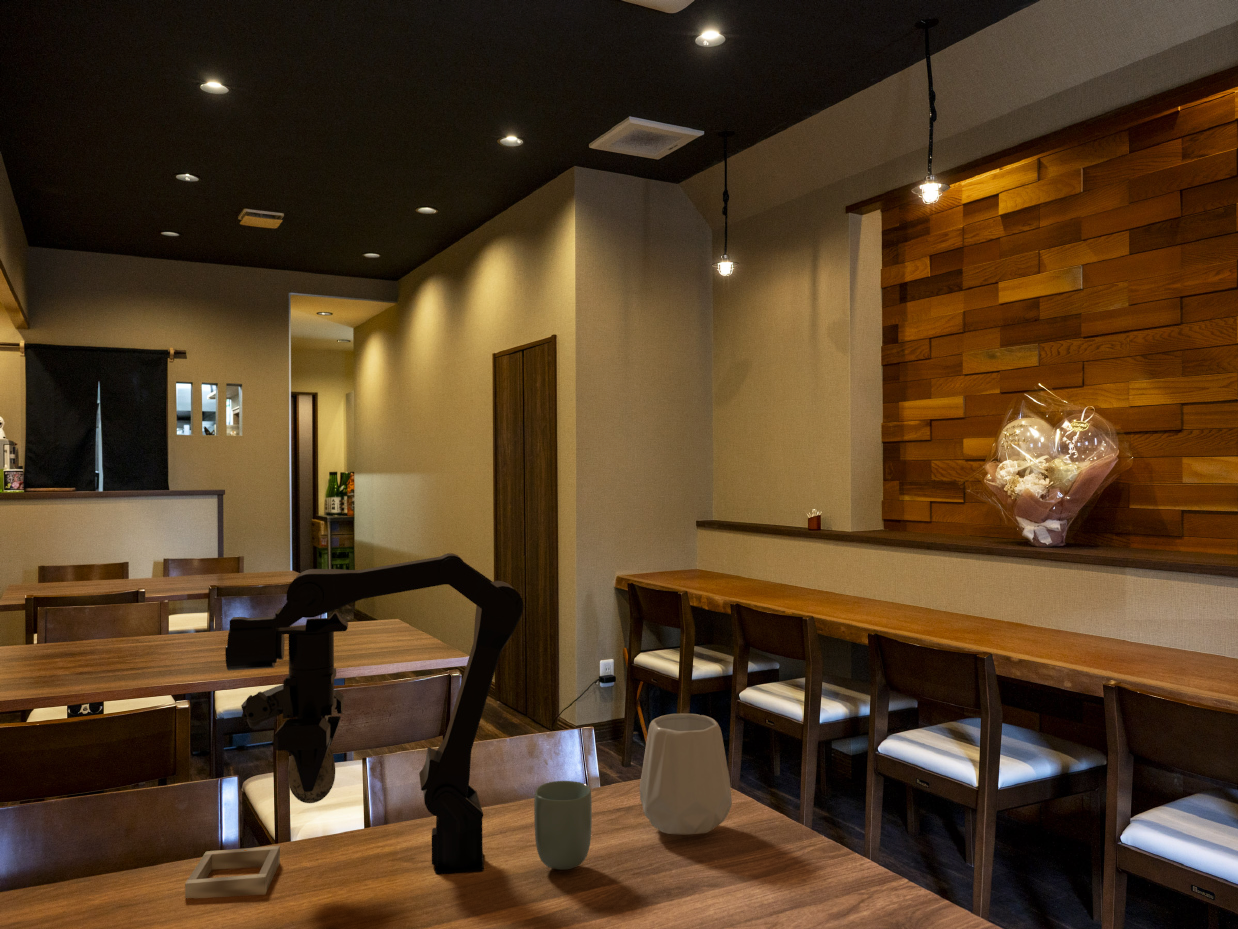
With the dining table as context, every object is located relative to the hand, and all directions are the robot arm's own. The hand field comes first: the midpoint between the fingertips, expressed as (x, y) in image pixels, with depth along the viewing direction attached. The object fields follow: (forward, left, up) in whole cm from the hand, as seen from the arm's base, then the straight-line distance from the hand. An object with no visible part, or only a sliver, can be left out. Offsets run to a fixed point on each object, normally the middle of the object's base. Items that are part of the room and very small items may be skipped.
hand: (312, 783), depth 119 cm
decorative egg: (0, 0, -3) cm, 3 cm away
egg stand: (+10, 0, -12) cm, 16 cm away
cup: (-33, +3, -13) cm, 36 cm away
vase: (-53, -8, -13) cm, 55 cm away
